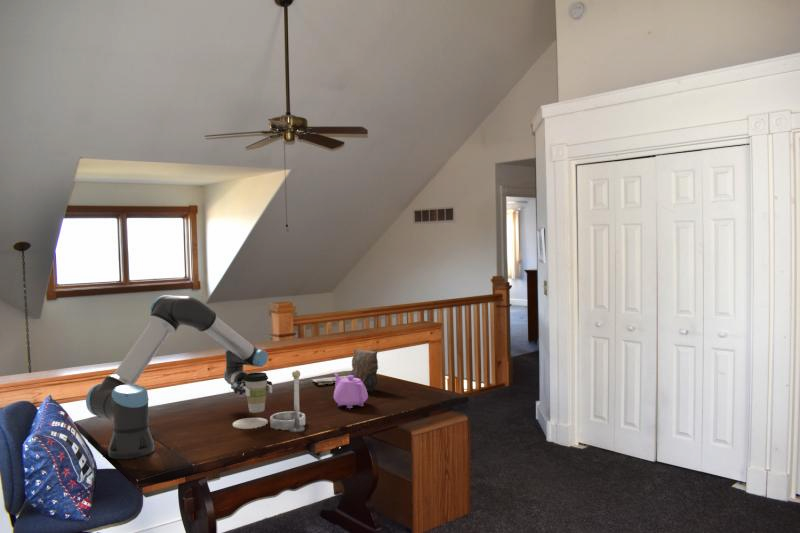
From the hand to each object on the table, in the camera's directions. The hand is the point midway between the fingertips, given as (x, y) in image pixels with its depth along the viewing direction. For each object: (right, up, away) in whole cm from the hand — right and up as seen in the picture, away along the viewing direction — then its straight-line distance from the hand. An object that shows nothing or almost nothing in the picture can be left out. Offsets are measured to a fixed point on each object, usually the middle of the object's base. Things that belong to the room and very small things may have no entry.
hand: (260, 391), depth 250 cm
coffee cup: (-2, -9, +4) cm, 10 cm away
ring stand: (+11, -14, 0) cm, 18 cm away
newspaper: (+27, -12, +81) cm, 86 cm away
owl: (+38, -12, +60) cm, 71 cm away
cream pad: (-5, -14, +4) cm, 16 cm away
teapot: (+34, -13, +32) cm, 48 cm away
